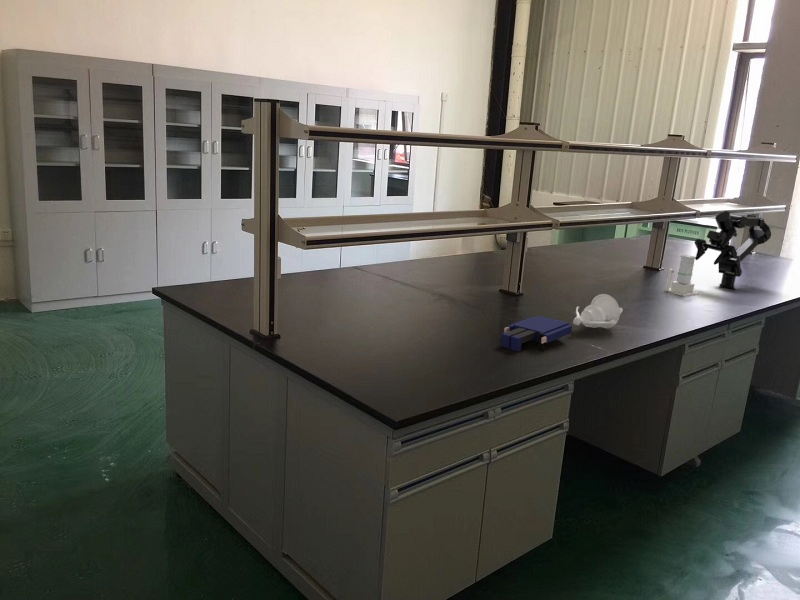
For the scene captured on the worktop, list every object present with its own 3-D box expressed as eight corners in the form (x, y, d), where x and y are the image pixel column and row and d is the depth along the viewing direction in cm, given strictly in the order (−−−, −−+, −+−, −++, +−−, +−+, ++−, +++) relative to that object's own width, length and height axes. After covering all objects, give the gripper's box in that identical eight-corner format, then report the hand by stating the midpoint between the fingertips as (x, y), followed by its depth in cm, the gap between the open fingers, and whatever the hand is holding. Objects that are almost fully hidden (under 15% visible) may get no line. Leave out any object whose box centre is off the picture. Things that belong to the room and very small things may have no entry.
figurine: (642, 299, 229) (599, 309, 213) (635, 331, 233) (592, 343, 217) (602, 285, 241) (558, 294, 226) (595, 316, 245) (552, 327, 229)
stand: (678, 288, 302) (682, 267, 299) (699, 294, 293) (703, 272, 290) (663, 290, 296) (667, 268, 294) (684, 296, 288) (688, 274, 285)
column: (681, 282, 296) (687, 254, 293) (690, 284, 293) (695, 256, 289) (675, 283, 294) (680, 255, 291) (684, 285, 291) (689, 257, 287)
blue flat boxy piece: (491, 329, 209) (537, 313, 226) (490, 347, 211) (536, 330, 227) (530, 339, 199) (575, 322, 215) (529, 359, 200) (574, 340, 217)
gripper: (700, 221, 303) (681, 245, 300) (738, 228, 287) (718, 254, 285) (707, 237, 309) (688, 261, 306) (745, 245, 294) (725, 270, 291)
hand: (704, 261), depth 297 cm, fingers open, 9 cm apart
